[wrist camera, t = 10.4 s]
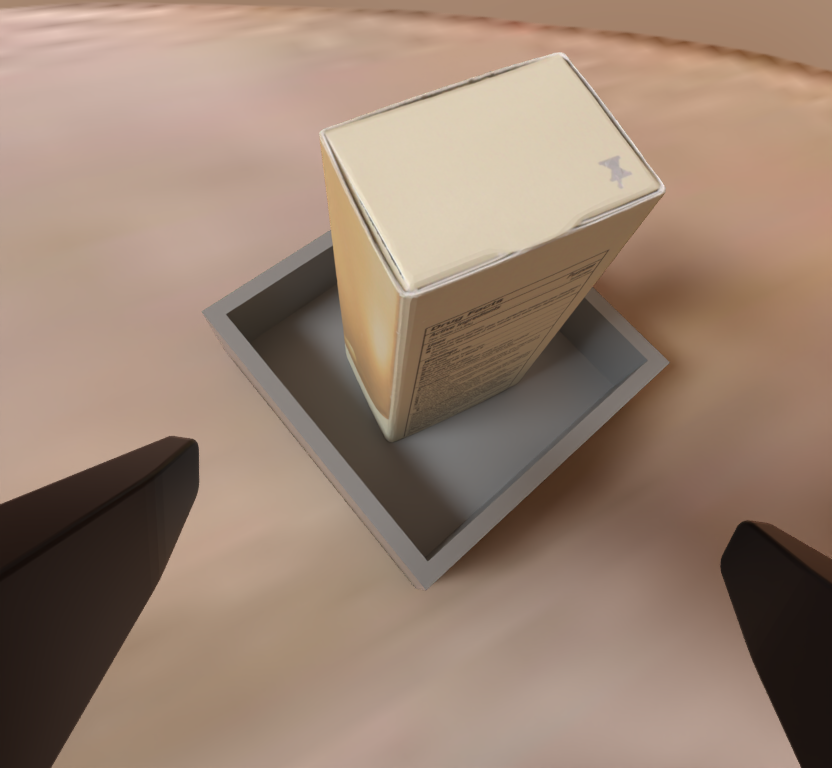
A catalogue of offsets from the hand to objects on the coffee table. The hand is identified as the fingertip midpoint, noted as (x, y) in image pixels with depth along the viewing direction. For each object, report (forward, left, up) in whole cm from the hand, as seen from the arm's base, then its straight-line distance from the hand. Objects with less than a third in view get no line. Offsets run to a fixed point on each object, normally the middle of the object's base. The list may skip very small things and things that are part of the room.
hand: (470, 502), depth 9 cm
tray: (+5, -5, -12) cm, 14 cm away
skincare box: (+5, -5, -12) cm, 14 cm away
